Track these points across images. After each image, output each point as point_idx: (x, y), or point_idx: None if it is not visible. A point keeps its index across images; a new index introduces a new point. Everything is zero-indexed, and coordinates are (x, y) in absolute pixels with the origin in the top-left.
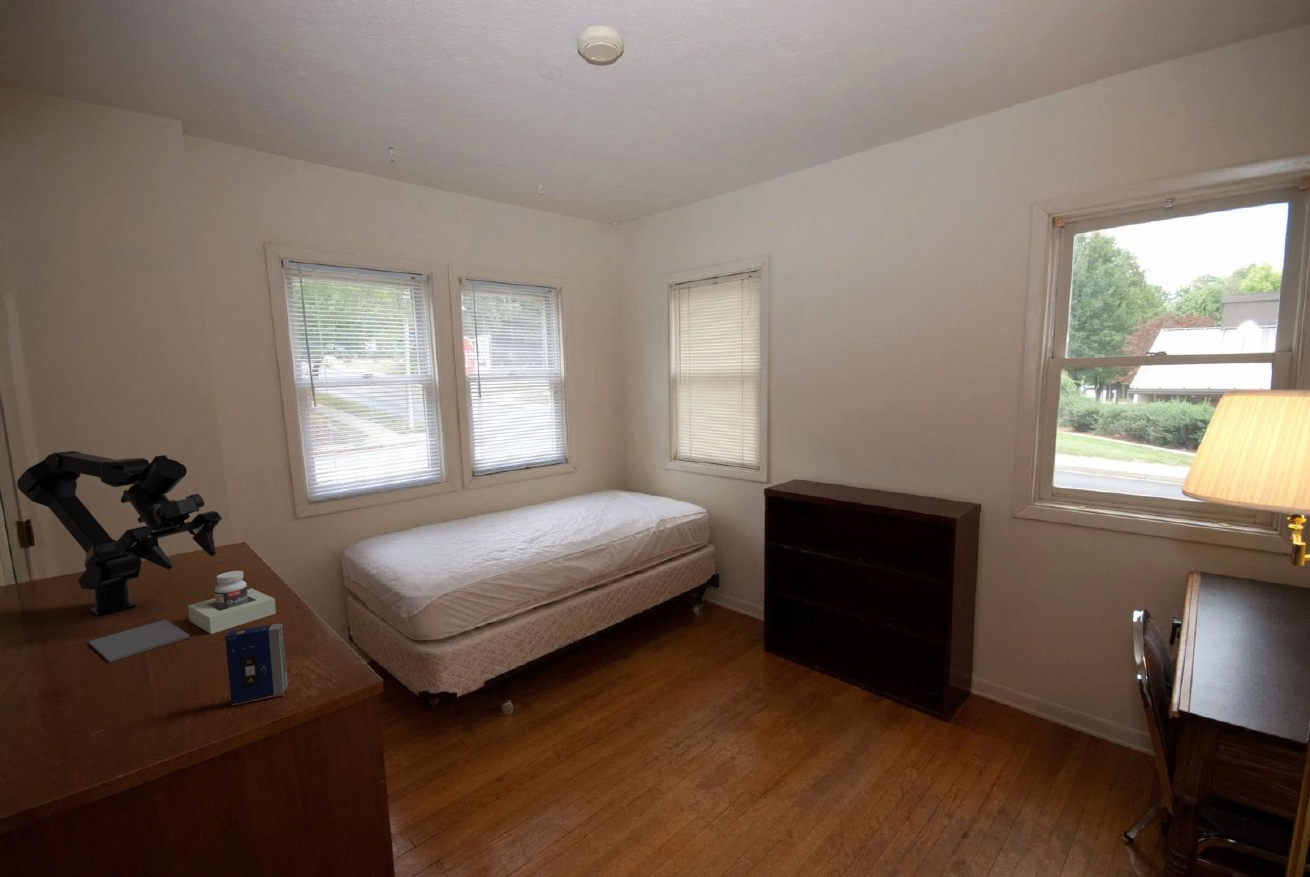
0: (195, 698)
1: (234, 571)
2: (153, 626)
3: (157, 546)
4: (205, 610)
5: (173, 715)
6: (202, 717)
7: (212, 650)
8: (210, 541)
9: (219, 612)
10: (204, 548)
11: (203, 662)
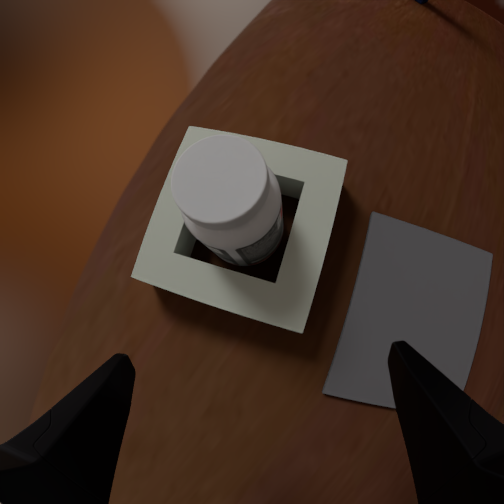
0: (446, 34)
1: (182, 195)
2: (365, 372)
3: (488, 451)
4: (315, 228)
5: (467, 33)
6: (449, 12)
7: (383, 107)
8: (72, 407)
9: (312, 169)
10: (116, 437)
11: (411, 85)
